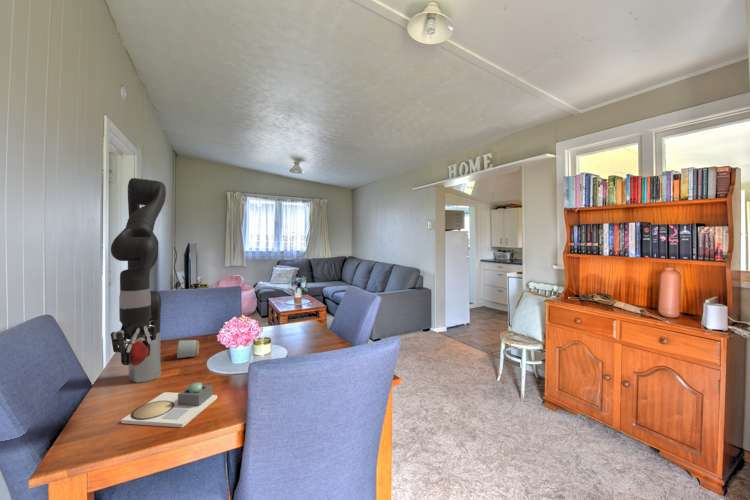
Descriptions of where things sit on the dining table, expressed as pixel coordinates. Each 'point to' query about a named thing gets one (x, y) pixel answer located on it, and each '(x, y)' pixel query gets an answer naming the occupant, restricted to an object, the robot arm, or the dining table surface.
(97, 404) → the dining table surface
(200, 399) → the button housing
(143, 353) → the onion
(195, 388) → the button
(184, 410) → the picture board
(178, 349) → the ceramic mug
